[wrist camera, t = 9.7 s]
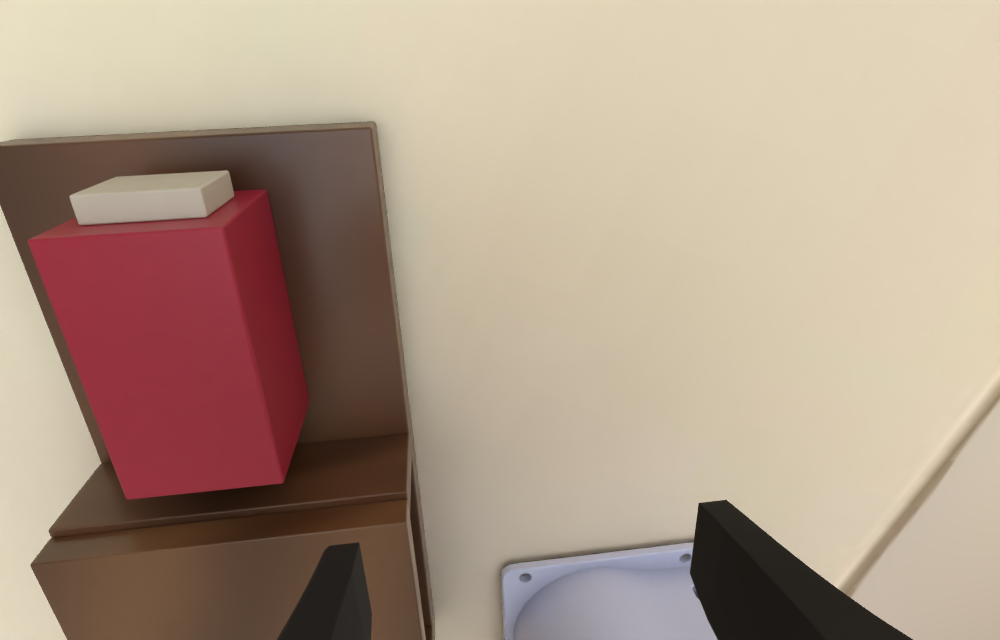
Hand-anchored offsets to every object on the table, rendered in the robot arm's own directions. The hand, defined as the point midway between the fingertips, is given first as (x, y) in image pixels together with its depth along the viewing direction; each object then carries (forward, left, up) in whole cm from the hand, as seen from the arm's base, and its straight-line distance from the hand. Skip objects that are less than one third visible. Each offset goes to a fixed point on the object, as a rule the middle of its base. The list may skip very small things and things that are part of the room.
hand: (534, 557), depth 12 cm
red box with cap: (+8, -3, -8) cm, 12 cm away
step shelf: (+8, +2, -9) cm, 13 cm away
